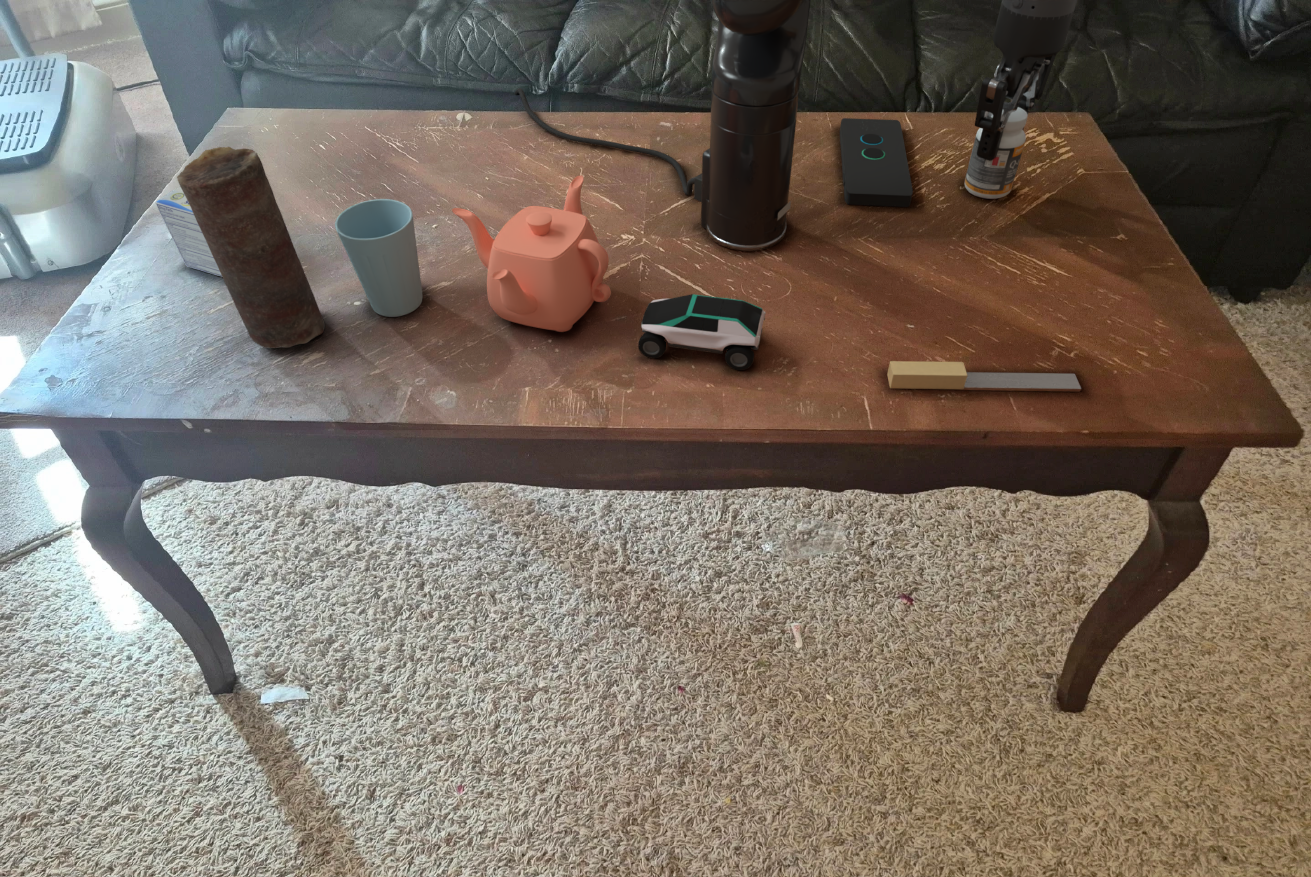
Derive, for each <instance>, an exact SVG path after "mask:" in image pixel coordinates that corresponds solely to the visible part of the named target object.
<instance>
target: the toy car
mask: <svg viewBox="0 0 1311 877" xmlns="http://www.w3.org/2000/svg"><path fill="white" fill-rule="evenodd" d="M765 320H766V311H765V310H764V309H763V308H762V307H760V306H758V305H755V304H753V303H750V302H748V301H745V300H743V299H735V298H727V297H718V296H711V295H710V296H709V295H703V294H695V293H694V294H693V293H690V294H685V295H681V296H676V297H672V298H660V299H653V300H652V301H651V302H649V303H648V304H647V306H646V308H645V310H644V313H643V316H642V320H641V329H642V331H641V332H642V333H643V334H641V335H640V337H639V339H638V342H637V348H638V350H639V352H640V353H641V354H642V355H643V356H644V357H647V358H648V359H659V358H661V357H662V356H664V354H665V352H666V350H667V346H668V347H669V348H677V349H684V350H690V351H698V352H704V353H705V352H706V353H713V354H719V355H724V360H725V363H726V364H727V365H728V367H730V369H733V370H735V371H744V370H745V371H746V370H748V369H749V368H751V367H752V365H753V363H754V361H755V353H754V350H755V351H758V350H759V346H760V342H761V337H762V333H763V325H764V321H765ZM667 344H668V345H667ZM724 351H725V354H724Z"/></svg>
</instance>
